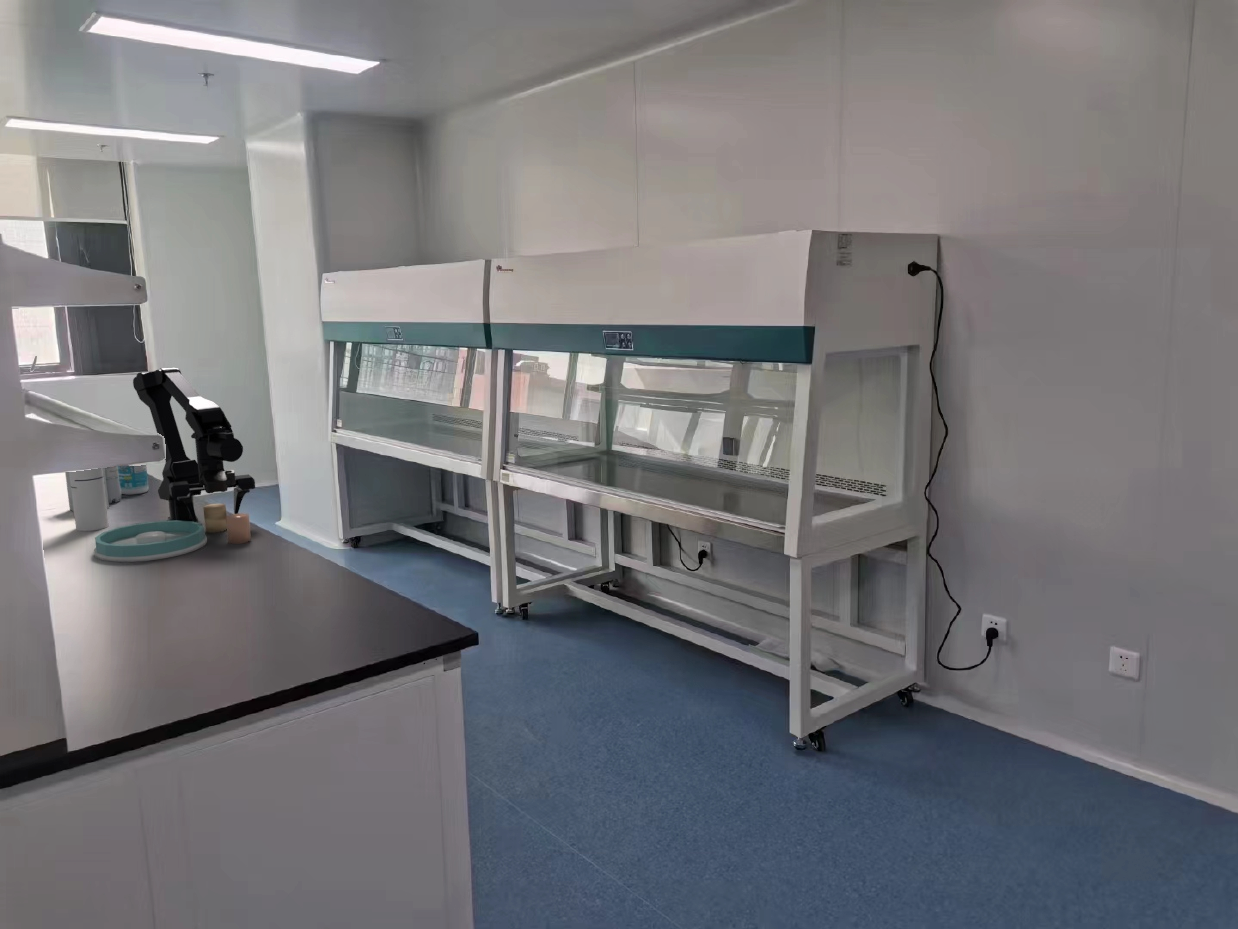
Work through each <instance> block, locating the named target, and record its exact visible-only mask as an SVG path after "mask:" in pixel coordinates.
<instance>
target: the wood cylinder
mask: <svg viewBox="0 0 1238 929" xmlns="http://www.w3.org/2000/svg"><path fill="white" fill-rule="evenodd" d="M226 516H228V515H227V507H226V504H225V503H212V504H211V503H210V504H206V505H204V506H203V517H204V529H205V533H220V531H221V532H225V531H227V530H226V529H227V526H226ZM224 530H225V531H224Z"/></svg>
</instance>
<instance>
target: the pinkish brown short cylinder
mask: <svg viewBox="0 0 1238 929" xmlns="http://www.w3.org/2000/svg"><path fill="white" fill-rule="evenodd" d="M250 523H251V522H250V515H249V513H245V512H244V513H243V512H242V513H239V512H238V514H234V513H232V514H228V515H227V516H226V526H227V530H226V533H227V543H228V542H229V543H228V544H231V543H232V544H235V545H238V544H239V545H240V544H245V543H248V541H249V542H251V541H252V535H251V524H250Z"/></svg>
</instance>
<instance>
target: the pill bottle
mask: <svg viewBox="0 0 1238 929" xmlns="http://www.w3.org/2000/svg"><path fill="white" fill-rule="evenodd" d="M117 467H118V476H119V483H120V488H121V495H130V496H132V495H140V494H144V493H147V492H148V491H149V487H150V486H149V478H148V477H149V476H148V471H147V470H148V468H147V464H146V465H141V466H117Z"/></svg>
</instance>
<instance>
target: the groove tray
mask: <svg viewBox="0 0 1238 929" xmlns="http://www.w3.org/2000/svg"><path fill="white" fill-rule="evenodd" d="M205 533H206V529H205V526H204V525H203V524H202V523H200V522H197V521H196V522H194V521H177V520H175V521H168V520H158V521H150V522H141V523H140V522H139V523H135V524H129V525H123V526H118V527H116V528H112V529H110V530H109V529H108V530H106V531H104V532H101V533H99V534H98V535H97V536H96V537H94V541H95V548H94V550H93V552H94V557H95V558H96V559H98V560H101V561H105V562H111V563H113V562H115V563H134V562H136V563H137V562H146V561H148V562H149V561H150V562H151V561H154V560H155V561H156V560H162V559H167V558H172V557H177V556H181V555H186V554H189V553H192V552H195V551H197V550H199V549H201V548H203V547H204V546H206V544H207V543H208V539H207V538H208V537H207V535H206V534H205Z"/></svg>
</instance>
